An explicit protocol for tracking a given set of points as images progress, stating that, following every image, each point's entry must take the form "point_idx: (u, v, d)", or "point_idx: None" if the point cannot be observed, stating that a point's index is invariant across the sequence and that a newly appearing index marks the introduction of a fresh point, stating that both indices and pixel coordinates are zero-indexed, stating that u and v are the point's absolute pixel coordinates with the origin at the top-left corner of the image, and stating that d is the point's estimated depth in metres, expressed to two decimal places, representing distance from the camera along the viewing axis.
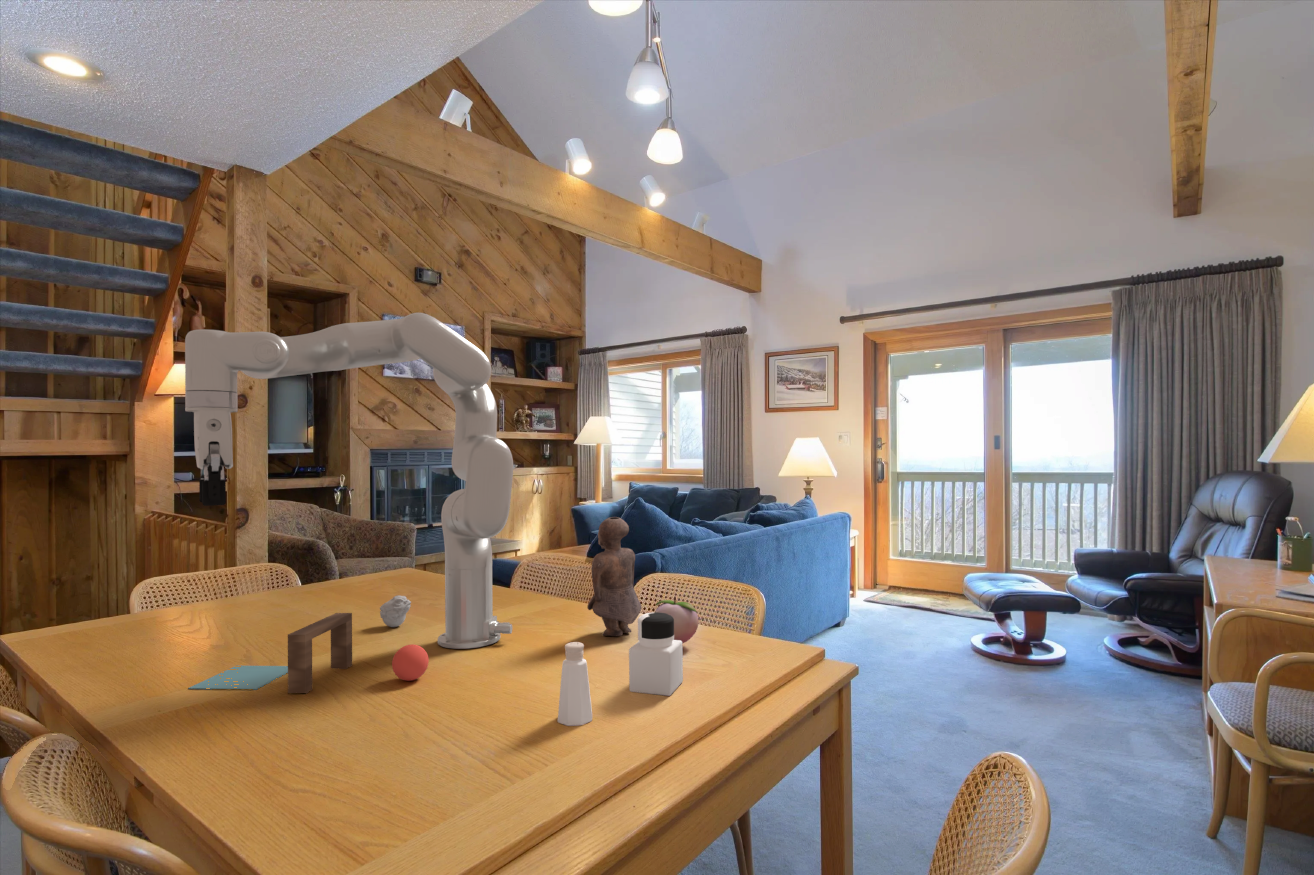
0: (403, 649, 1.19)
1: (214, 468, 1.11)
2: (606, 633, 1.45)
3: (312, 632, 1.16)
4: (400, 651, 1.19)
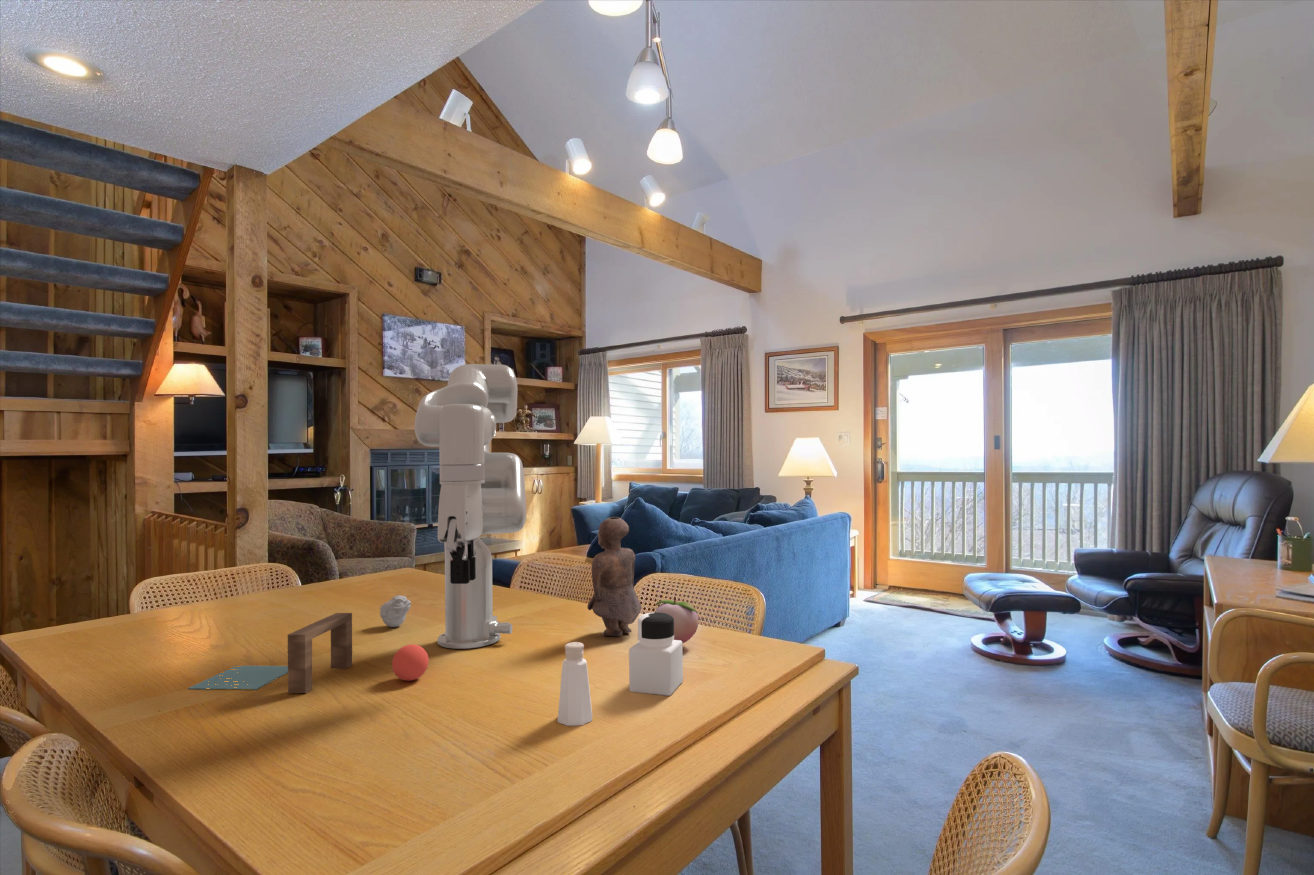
0: (403, 649, 1.19)
1: None
2: (606, 633, 1.45)
3: (312, 632, 1.16)
4: (400, 651, 1.19)
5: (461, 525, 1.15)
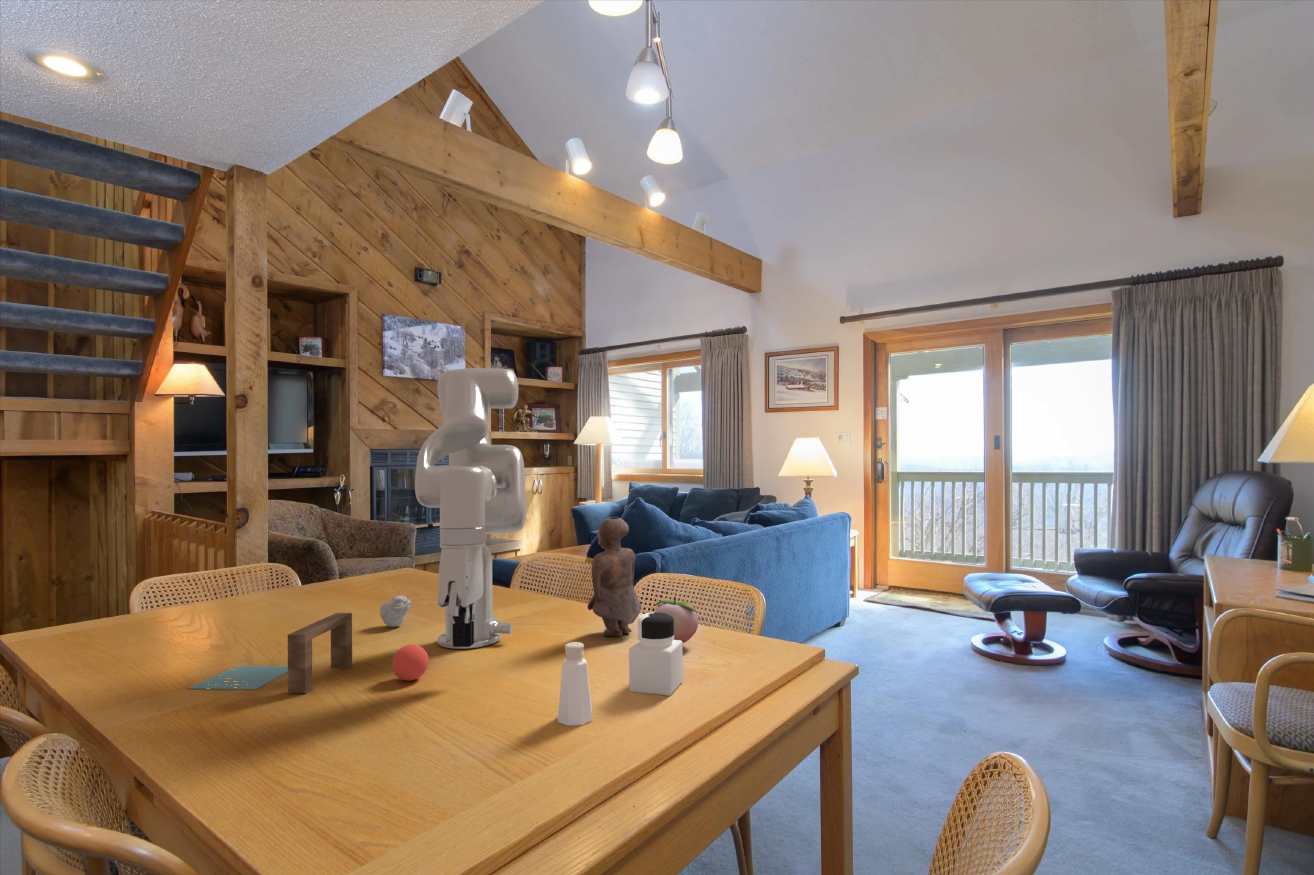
0: (403, 649, 1.19)
1: None
2: (606, 633, 1.45)
3: (312, 632, 1.16)
4: (400, 651, 1.19)
5: (462, 590, 1.14)
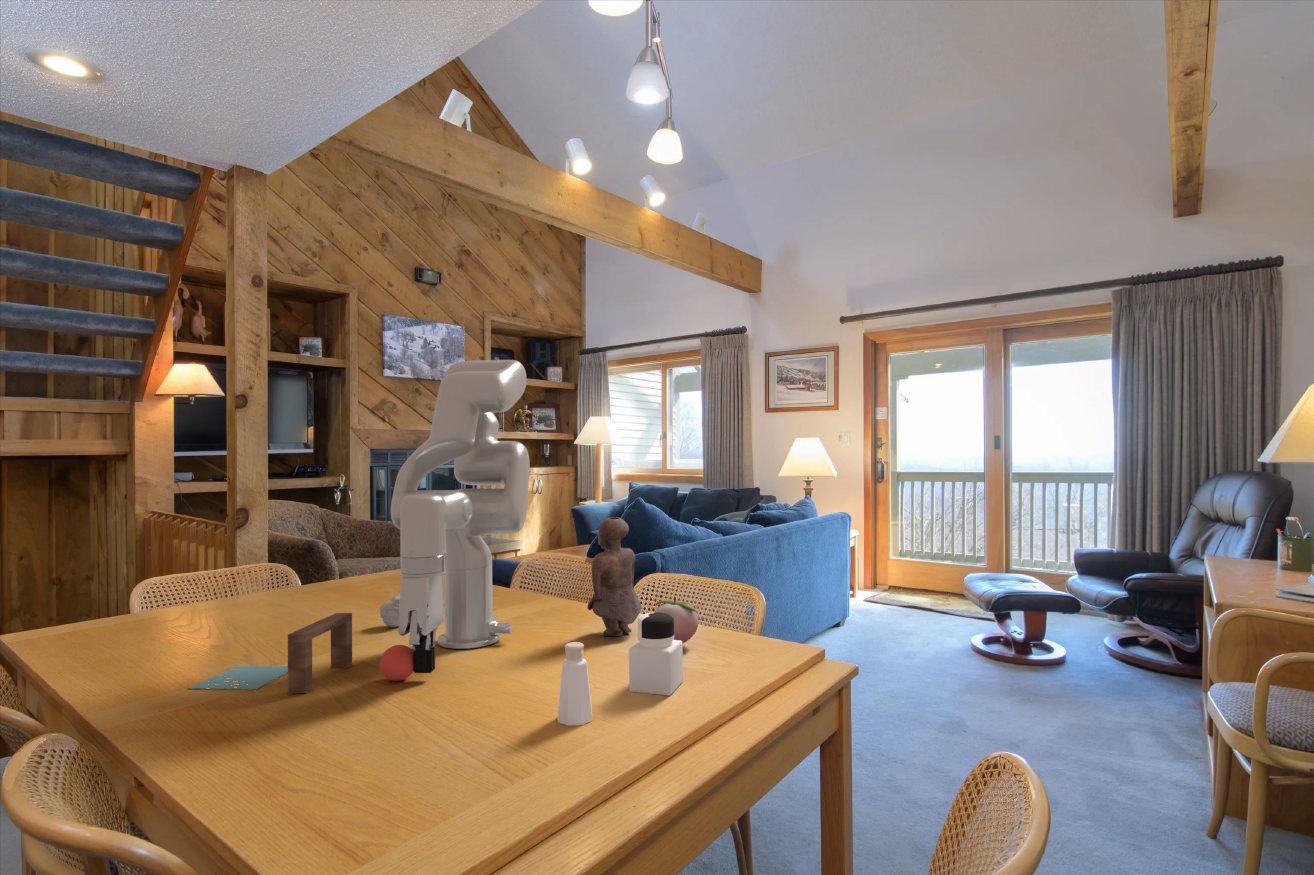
0: (384, 653, 1.18)
1: None
2: (606, 633, 1.45)
3: (312, 632, 1.16)
4: (382, 656, 1.18)
5: (423, 619, 1.15)
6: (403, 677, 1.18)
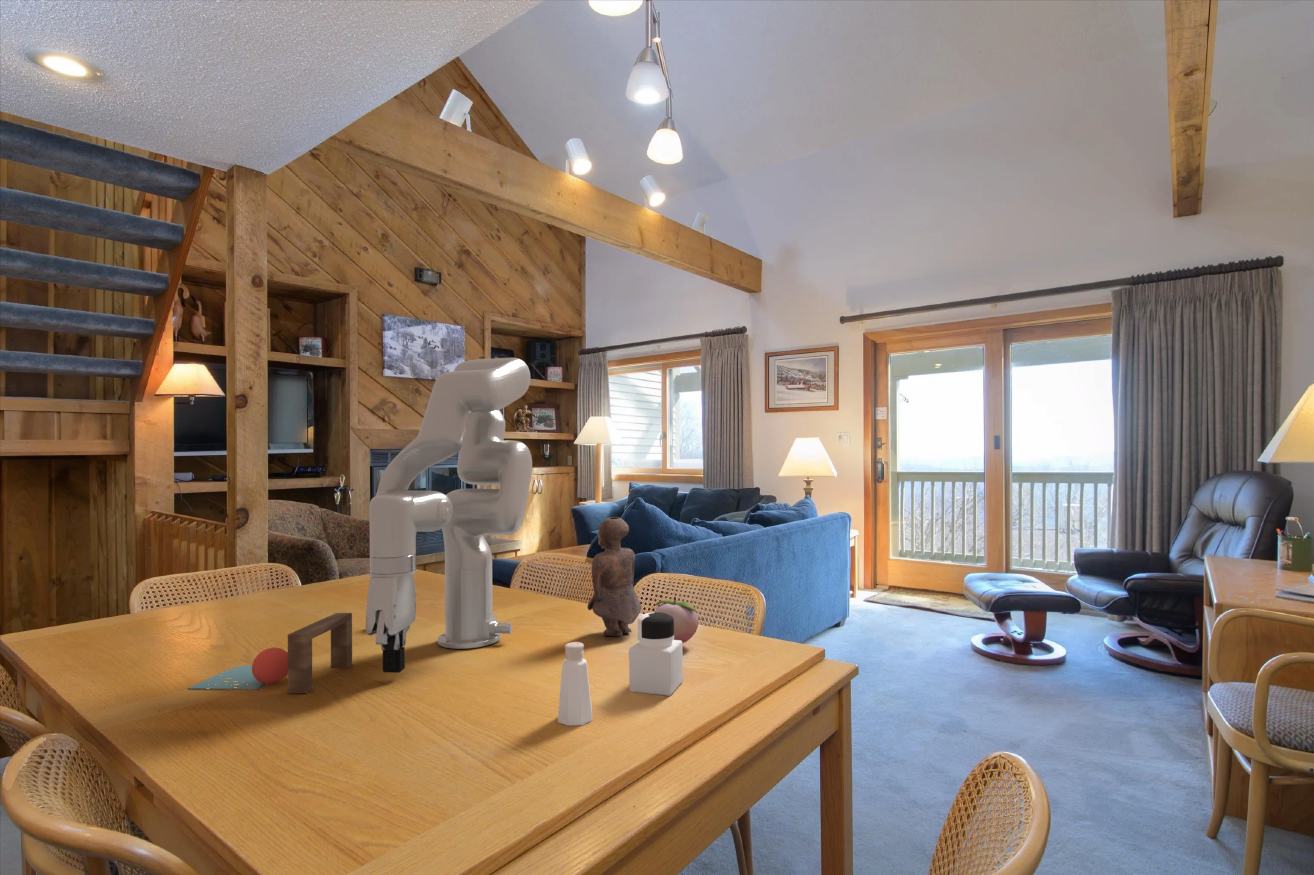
0: None
1: None
2: (606, 633, 1.45)
3: (312, 632, 1.16)
4: (252, 672, 1.18)
5: (389, 619, 1.15)
6: (281, 670, 1.17)
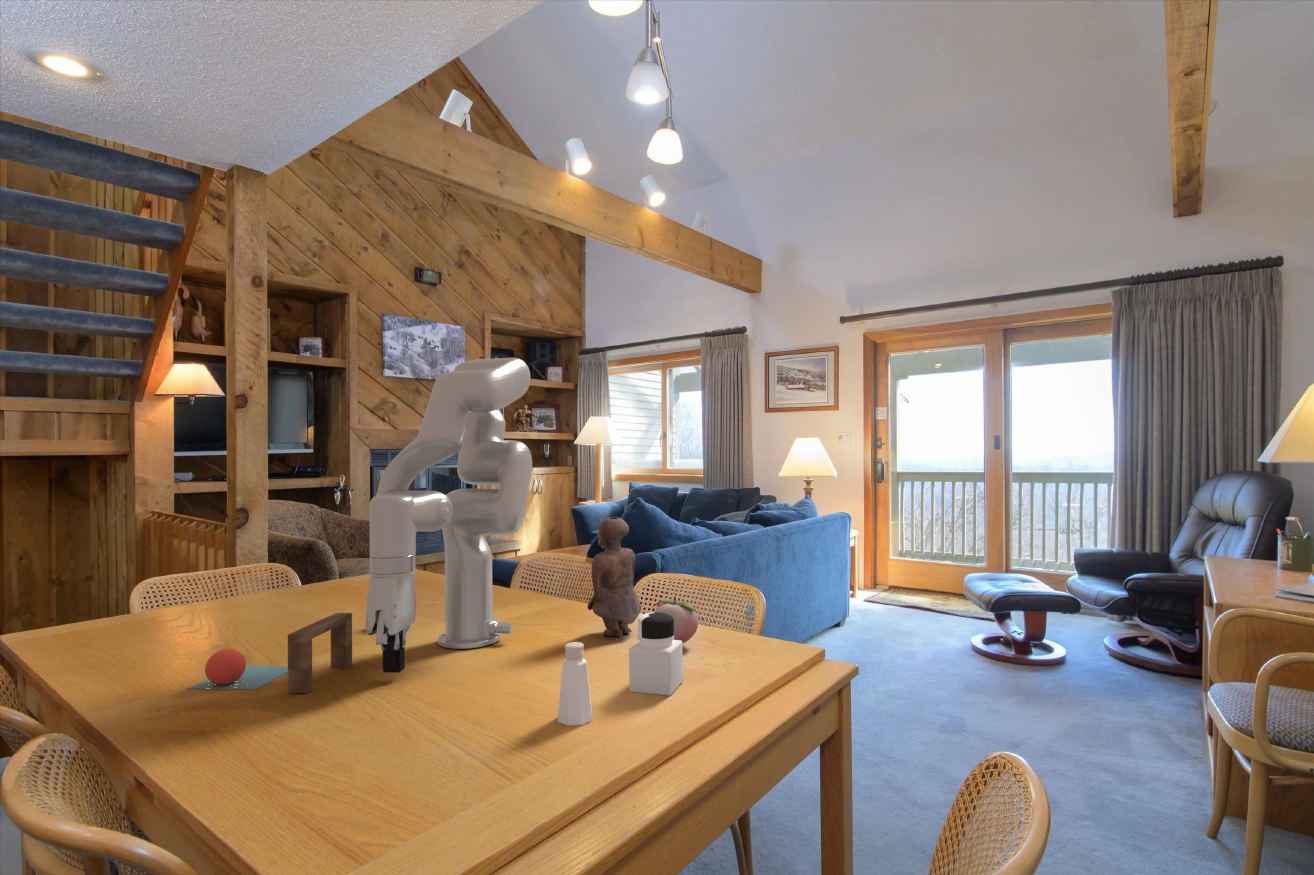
0: (234, 677, 1.17)
1: None
2: (606, 633, 1.45)
3: (312, 632, 1.16)
4: (236, 673, 1.17)
5: (389, 619, 1.15)
6: (208, 660, 1.17)
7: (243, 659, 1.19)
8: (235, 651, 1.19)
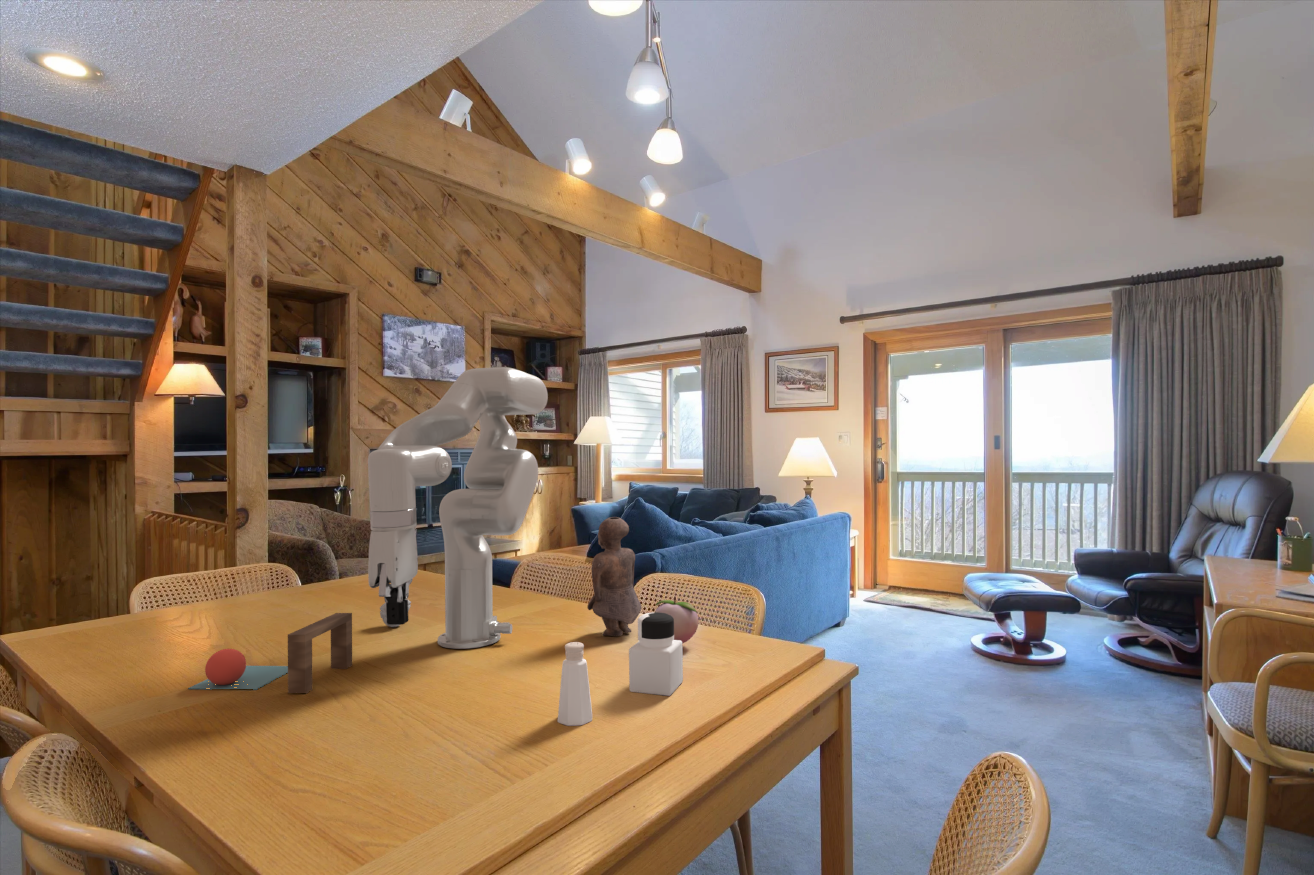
0: (234, 677, 1.17)
1: None
2: (606, 633, 1.45)
3: (312, 632, 1.16)
4: (236, 673, 1.17)
5: (391, 571, 1.16)
6: (208, 660, 1.17)
7: (243, 659, 1.19)
8: (235, 651, 1.19)
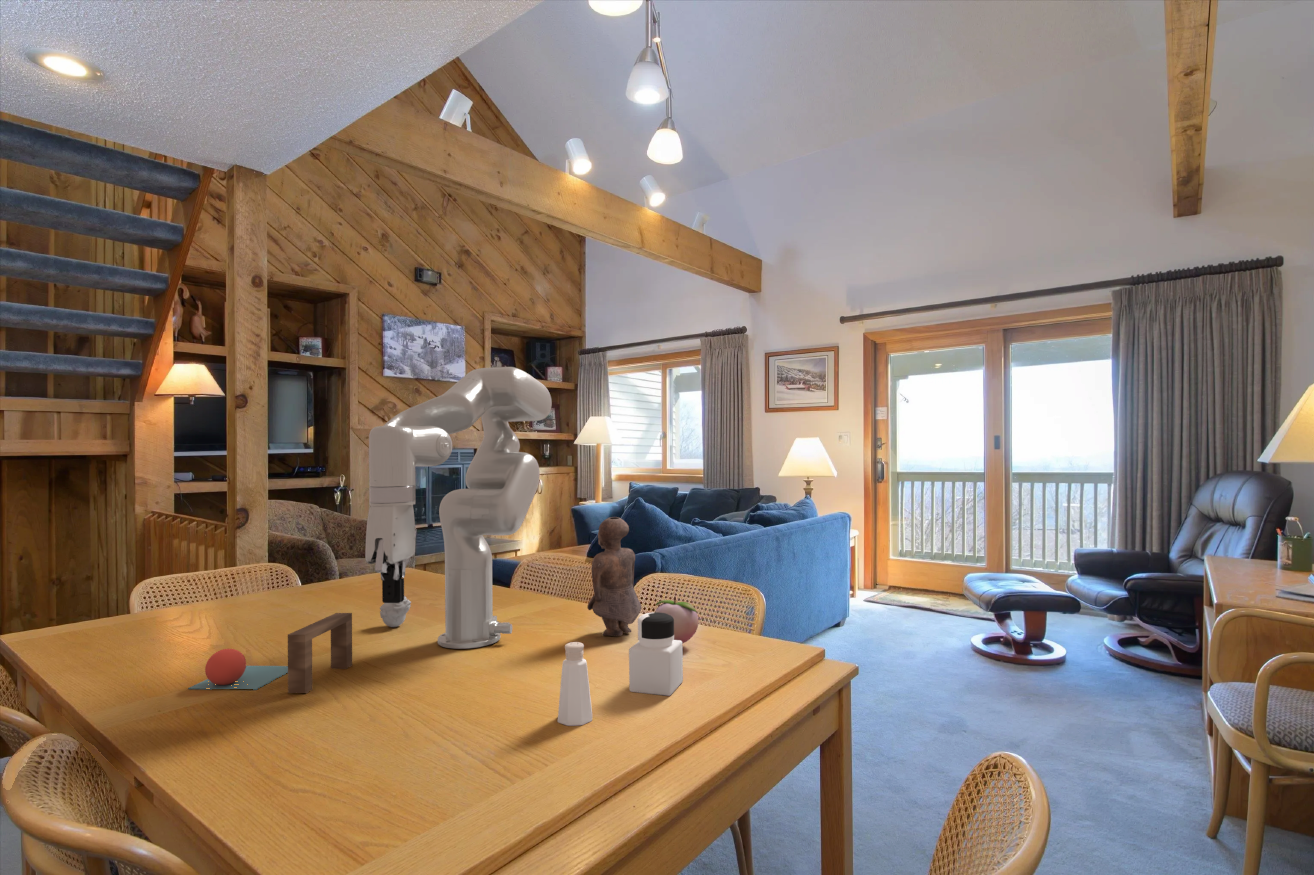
0: (234, 677, 1.17)
1: None
2: (606, 633, 1.45)
3: (312, 632, 1.16)
4: (236, 673, 1.17)
5: (389, 547, 1.15)
6: (208, 660, 1.17)
7: (243, 659, 1.19)
8: (235, 651, 1.19)
